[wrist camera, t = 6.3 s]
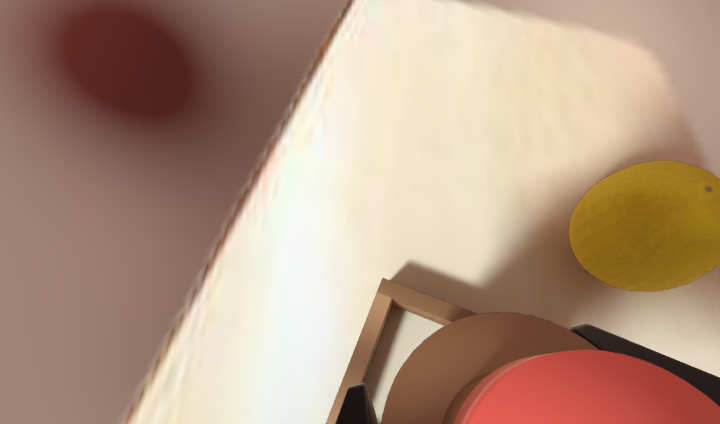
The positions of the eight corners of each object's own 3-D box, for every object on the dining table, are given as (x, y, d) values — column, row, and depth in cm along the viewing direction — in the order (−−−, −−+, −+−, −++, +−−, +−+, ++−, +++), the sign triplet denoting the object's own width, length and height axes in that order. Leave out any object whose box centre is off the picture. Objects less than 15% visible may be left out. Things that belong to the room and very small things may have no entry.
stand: (505, 558, 16) (520, 582, 14) (316, 459, 18) (307, 469, 16) (548, 350, 19) (564, 347, 17) (383, 286, 21) (382, 277, 19)
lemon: (571, 193, 22) (658, 104, 15) (668, 243, 20) (819, 170, 13) (528, 266, 21) (601, 206, 13) (628, 326, 19) (776, 296, 12)
